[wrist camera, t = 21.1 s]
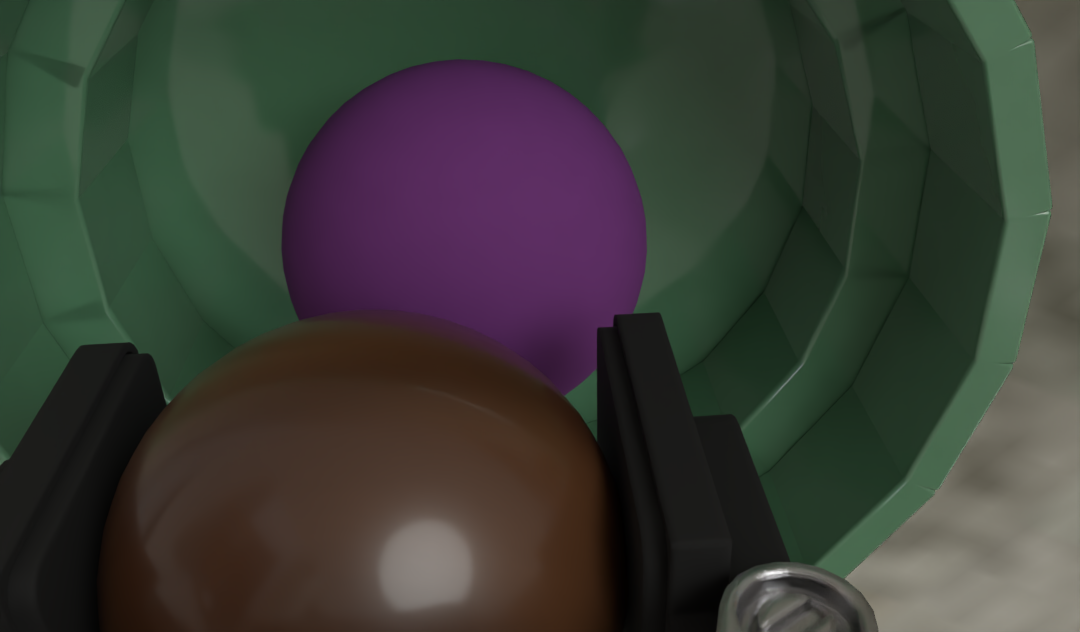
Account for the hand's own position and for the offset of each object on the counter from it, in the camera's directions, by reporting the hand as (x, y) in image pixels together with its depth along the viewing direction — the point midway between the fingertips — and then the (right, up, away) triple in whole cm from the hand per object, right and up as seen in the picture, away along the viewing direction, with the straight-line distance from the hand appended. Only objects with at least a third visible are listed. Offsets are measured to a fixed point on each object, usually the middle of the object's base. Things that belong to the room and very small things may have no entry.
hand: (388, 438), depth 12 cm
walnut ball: (0, -1, -2) cm, 2 cm away
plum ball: (+1, +2, +3) cm, 4 cm away
